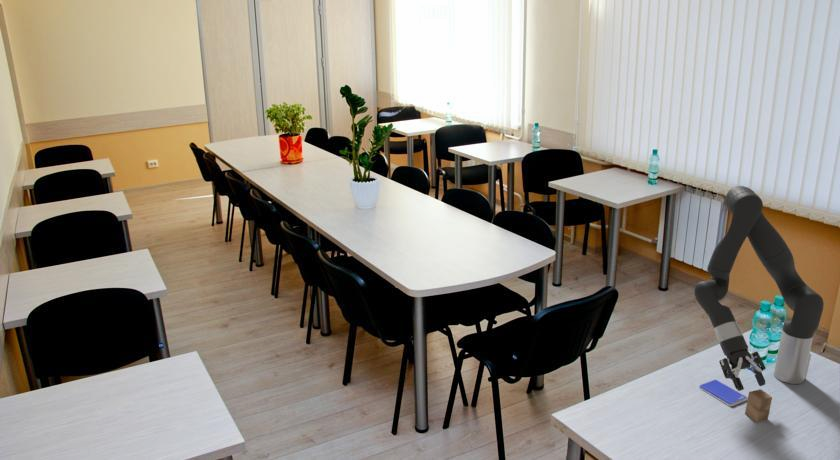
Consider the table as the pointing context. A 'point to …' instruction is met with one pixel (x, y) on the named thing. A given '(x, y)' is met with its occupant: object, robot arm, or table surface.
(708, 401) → the table surface
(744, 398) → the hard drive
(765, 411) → the walnut block
